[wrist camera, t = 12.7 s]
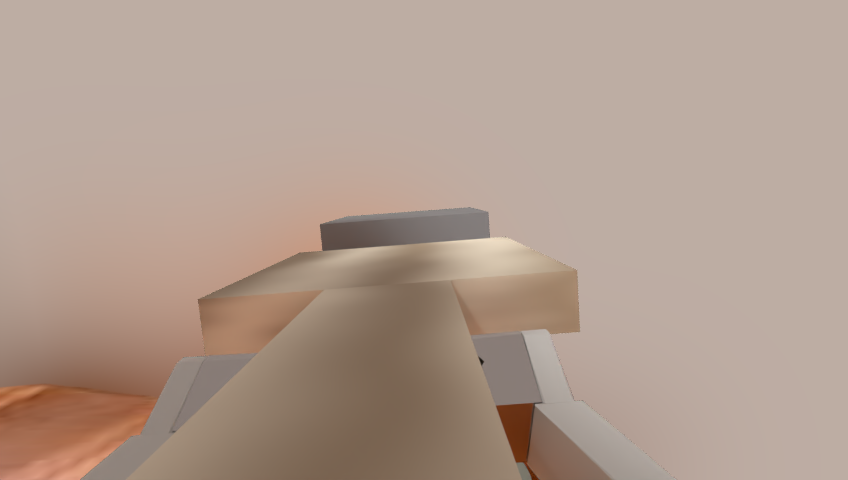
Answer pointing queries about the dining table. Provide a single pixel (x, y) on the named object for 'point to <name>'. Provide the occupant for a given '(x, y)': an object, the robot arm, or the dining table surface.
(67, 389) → the dining table surface
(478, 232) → the plinth
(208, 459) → the cutting board
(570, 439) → the robot arm
